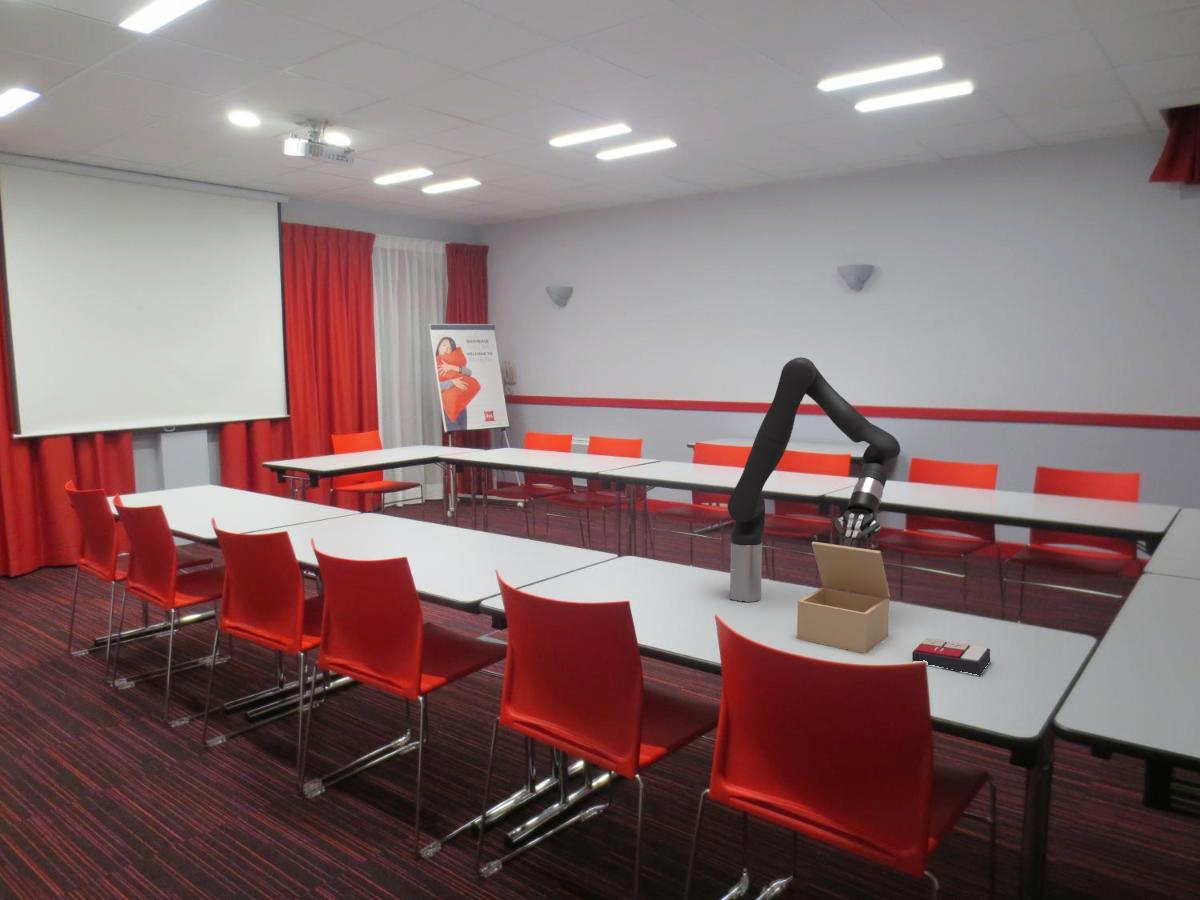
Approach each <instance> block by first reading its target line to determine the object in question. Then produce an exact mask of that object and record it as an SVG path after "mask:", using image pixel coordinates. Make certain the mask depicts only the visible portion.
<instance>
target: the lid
mask: <svg viewBox="0 0 1200 900" xmlns="http://www.w3.org/2000/svg"><path fill="white" fill-rule="evenodd" d="M811 547H812V550H813V554H814V557H815V561H816V562H815V563H816V565H817V569H818V572H819V577H820V580H821V583H822V587H825V588H831V589H837V590H842V591H848V592H853V593H859V594H865V595H870V596H876V597H882V598H887V599H890V597H891V594H890V588H889V584H888V580H887V579H888V578H887V575H886V570H885V567H884V559H883V556H882V552H881V550H876V549H875V550H874V549H868V548H861V547H856V548H855V547H848V546H843V545H841V544H832V543H827V542H826V543H825V542H820V541H819V542H817V541H812V542H811Z"/></svg>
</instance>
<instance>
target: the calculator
mask: <svg viewBox="0 0 1200 900" xmlns="http://www.w3.org/2000/svg"><path fill="white" fill-rule="evenodd" d="M911 658H912V662H913V661H923V660H925V661H927V662H928V665H935V666H939V667H944V668H948V669H953V670H957V671H956V672H958V671H962V672H968V673H972V674H977V675H980V674H981V673H982V672H983V670H984V669H985V667H986V666H987V665H988V663H989V662H990V663H991V649H990V648H988V647H986V646H982V645H980V646H979V645H975V644H974V645H973V644H972V645H970V644H969V643H964V642H957V641H950V640H943V639H935V638H929V637H926V638H925V639H924V640H923V641H922V642H921V643H920V644H919V645H918V646H917V647H915V649H914V650H912V657H911ZM988 666H989V665H988ZM988 666H987V667H988ZM953 670H952V671H953ZM985 670H986V669H985ZM983 673H984V672H983ZM983 673H982V674H983Z"/></svg>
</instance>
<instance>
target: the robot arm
mask: <svg viewBox="0 0 1200 900" xmlns="http://www.w3.org/2000/svg"><path fill="white" fill-rule="evenodd" d="M780 372H781V373H780V377H779V379H778V380H779V381H778V384H777V388H776V390H775V394H774V397H773V400H772V401H771V404H770V406H769V409H768V410H767V412H766V414H765V416H764V418H763V419H762V422H761V425H760V426H759V428H758V431H757V434H756V435H755V439H754V441H753V444H752V445H751V449H750V451H749V454H748V457H747V460H746V462H745V465H744V469H743V470H742V474H741V476H740V478H739V480H738V482H737V484H736V485H735V486H734V487H735V488H734V489H733V492H732V493H731V494H730V497H729V498H728V502H727V511H728V512H727V513H728V515H729V516H730V518H731V519H732V520H733V521H734V522H735V524H734V527H733V529H732V531H731V534H730V566H729V568H730V569H729V570H730V573H729V574H730V575H729V576H730V583H729V587H730V590H729V591H730V592H729V593H730V594H729V596H730V599H732V601H737V600H738V602H742V601H745V602H744V603H749V602H751V603H752V602H757V601H760V600H761V599H762V562H763V561H762V557H763V553H762V550H763V549H762V548H763V547H762V546H763V535H764V531H765V520H766V519H765V518H766V503H765V499H764V496H763V494H762V492H763V489H764V486H765V484H766V482H767V481H768V479H769V477H770V476H771V475H772V473H773V472H774V470H775V469H776V468H777V466H778V464H779V463H780V462H781V459H782V458H783V456H784V454H785V452H786V449H787V447H788V444H789V443H790V440H791V436H792V432H793V430H794V425H795V420H796V415H797V412H798V410H799V407H800V405H801V403H802V402H803V399H804V397H805V395H807V396H808V397H809V398H810V399H812V400H813V401H814V402H815V403H816V404H817V405H818V406H819V407H820V408H821V409H822V411H823V412H824V413H825V415H827V417H828V419H830V420H831V422H832V423H833V424H834V425H835V426H836V427H837V428H838V430H840V431H841V432H842V433H843V434H844V435H845V436H846V437H848V439H849V440H851V441H852V442H853V443H856V444H859V443H861V442H865V443H866V444H869V445H868V446H867V447H866V449H865V450H864V452H863V455H862V458H861V459H862V461H861V470H860V474H859V475H858V479H857V481H856V483H855V485H854V488H853V489H852V493H851V495H850V499H849V501H848V504H847V507H846V509H845V512H843V514H842V516H841V517H836V516H835V517H834V518H833V520H832V521H833V523H834V525H835V527H836V529H837V531H838V532H839V533H838V534H839V535H840V536H841V538H842V539H843V544H842V546H848V547H855V548H857V545H858V543H859V542H862V543H863V542H866V541H868V540H869V539H871V538H872V537H874V536H875V535H876V534H878V533H879V532H881V531H882V527H881V524H880V522H878V521H876V516H877V513H878V510H879V507H880V504H881V502H882V497H883V493H884V489H885V486H886V483H887V480H888V476H889V475H888V470H887V469H886V466H887V465H888V464H889V463H891V462H892V461H893V460H895V459H896V458H897V457H898V456H899V455H900V453H901V445H900V442H899V441H898V440H897V438H896V437H895V436H894V435H893V434H891V433H889V432H887V431H886V430H884V429H882V428H881V427H879V426H877V425H875V424H873V423H872V422H870V421H869V420H868V419H867V418H866V417H865V416H863V414H861V413H860V411H858V410H857V409H856V408H855V407H854V406H853V405H852V404H851V403H849V402H848V401H847V400H846V399H845V398H843V396H842V395H841V394H839V392H837V391H836V389H834V388H833V386H832V385H831V384H830V383H829V382H828V381H827V380H826V378H825V377H824V376H823V375H822V374H821V372H820V370H818V368H817V367H816V365H815V364H814V362H813V361H812V360H811V359H808V358H807V357H802V356H800V357H799V356H798V357H795V358H793V359H790V360H789V361H788V362H786V363H785V364H784V365H783V367H782V369H781V371H780ZM844 523H845V525H846V531H845V530H844V527H843V526H844Z"/></svg>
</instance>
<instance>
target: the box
mask: <svg viewBox="0 0 1200 900" xmlns="http://www.w3.org/2000/svg"><path fill="white" fill-rule="evenodd" d="M889 611H890V598H886V597H880V596H875V595H869V594H863V593H858V592H852V591H846V590H841V589H835V588H829V587H824V586H822V587H820V588H818V589H817V590H816V591H814V592H812V593H810V594H808V595H806V596H805V597H803V598H801V599H799V600H797V616H796V617H797V618H796V619H797V621H796V622H797V630H796V634H797V635H796V639H797V640H800V641H801V640H802V641H805V642H811V643H814V642H816V644H819V643H820V644H821V645H823V644H824V646H828V645H830V646H829V647H832V646H834V647H833V648H837V647H839V648H838V649H841V648H843V649H842V650H846V649H848V651H850V650H852V651H851V652H855V651H858V652H857V653H859V652H862V653H861V654H863V653H866V652H867V653H869V652H870V651H871V650H872V649H873V647H874V648H875V647H876V646H877V645H878V644H880V643H881V642H883V640H885V639H886V638H887V637H889V614H890V612H889ZM825 644H826V645H825ZM869 650H870V651H869ZM867 653H866V654H867Z"/></svg>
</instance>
